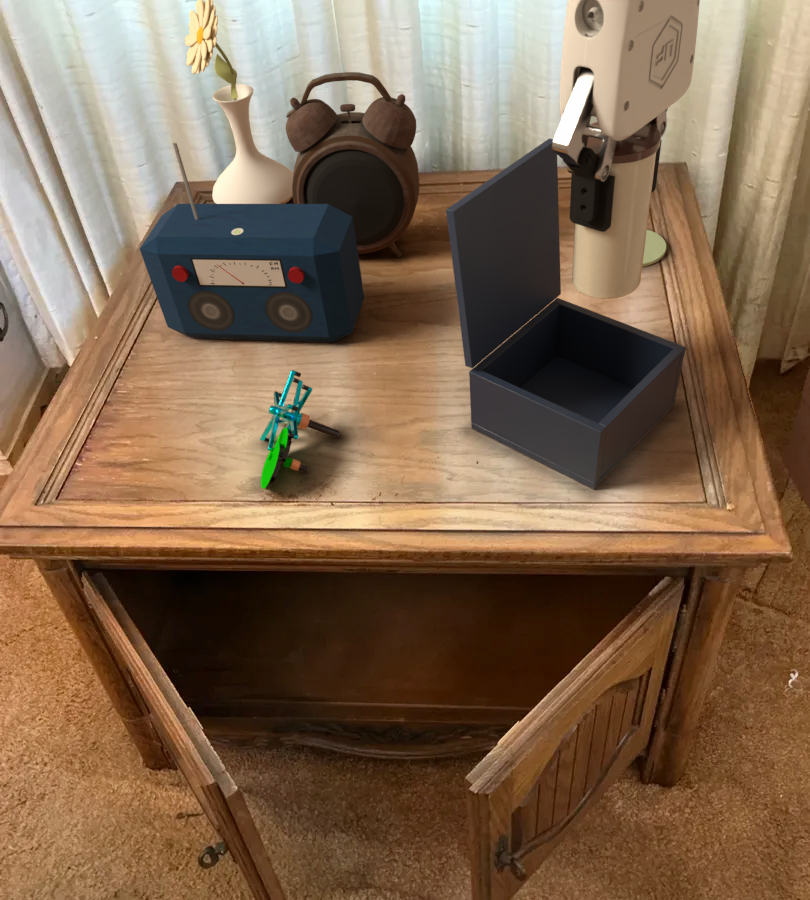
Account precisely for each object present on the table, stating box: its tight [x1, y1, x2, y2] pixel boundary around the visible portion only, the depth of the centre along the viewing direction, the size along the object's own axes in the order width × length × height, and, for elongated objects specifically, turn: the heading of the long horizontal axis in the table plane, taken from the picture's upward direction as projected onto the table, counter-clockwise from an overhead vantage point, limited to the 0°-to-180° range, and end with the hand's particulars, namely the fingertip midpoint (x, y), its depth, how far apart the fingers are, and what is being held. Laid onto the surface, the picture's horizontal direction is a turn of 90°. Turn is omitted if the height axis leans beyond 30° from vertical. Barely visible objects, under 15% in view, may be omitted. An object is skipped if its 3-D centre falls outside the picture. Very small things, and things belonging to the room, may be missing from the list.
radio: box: [139, 142, 365, 343], centre depth 87 cm, size 21×9×20 cm, turn 80°
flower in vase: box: [184, 0, 294, 204], centre depth 103 cm, size 13×11×25 cm
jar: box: [571, 121, 662, 300], centre depth 64 cm, size 6×6×12 cm
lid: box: [445, 138, 562, 369], centre depth 73 cm, size 14×14×1 cm
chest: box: [468, 297, 687, 490], centre depth 77 cm, size 14×14×7 cm
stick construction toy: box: [259, 369, 341, 491], centre depth 79 cm, size 12×7×8 cm
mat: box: [642, 229, 667, 268], centre depth 97 cm, size 8×8×1 cm
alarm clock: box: [285, 71, 420, 258], centre depth 95 cm, size 15×7×20 cm, turn 86°
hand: (612, 204), depth 64 cm, fingers closed on jar, 5 cm apart
